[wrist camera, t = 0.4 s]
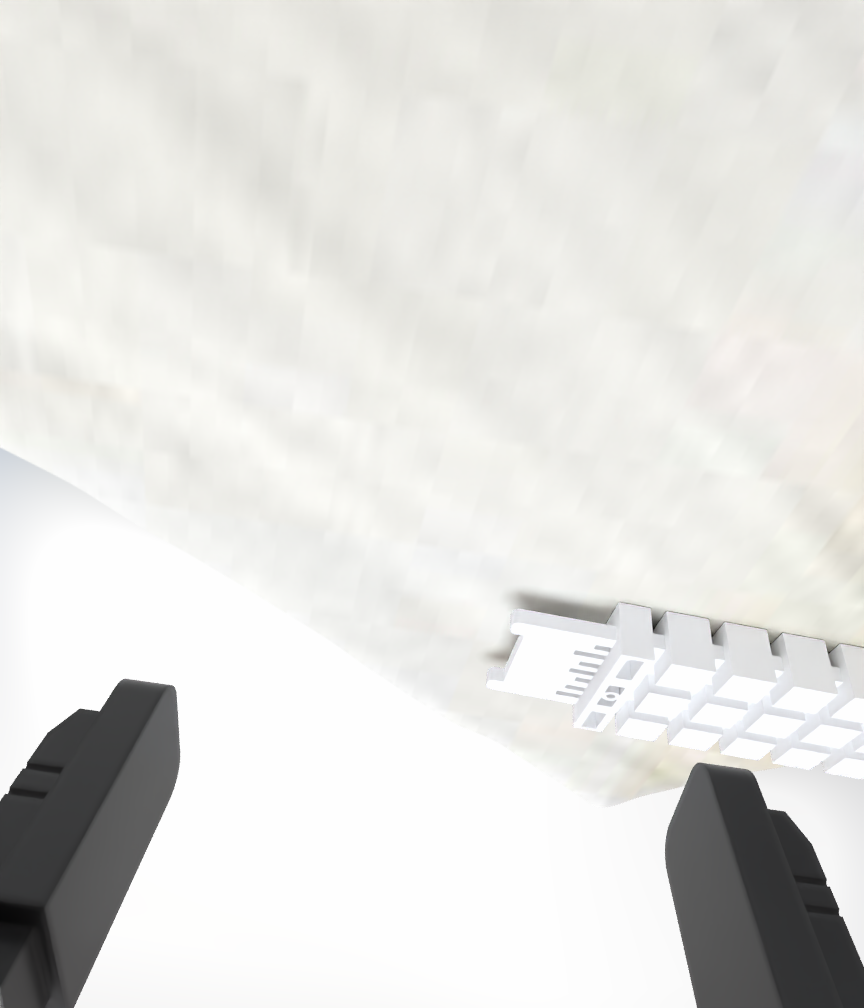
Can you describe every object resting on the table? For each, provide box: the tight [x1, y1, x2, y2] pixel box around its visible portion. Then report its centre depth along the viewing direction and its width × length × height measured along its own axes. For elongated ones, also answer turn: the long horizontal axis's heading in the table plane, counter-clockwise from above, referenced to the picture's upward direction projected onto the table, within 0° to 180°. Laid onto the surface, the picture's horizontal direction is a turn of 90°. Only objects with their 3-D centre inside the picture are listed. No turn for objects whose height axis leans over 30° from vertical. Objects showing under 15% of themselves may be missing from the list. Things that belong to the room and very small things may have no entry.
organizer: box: [486, 602, 864, 779], centre depth 64 cm, size 13×5×35 cm
